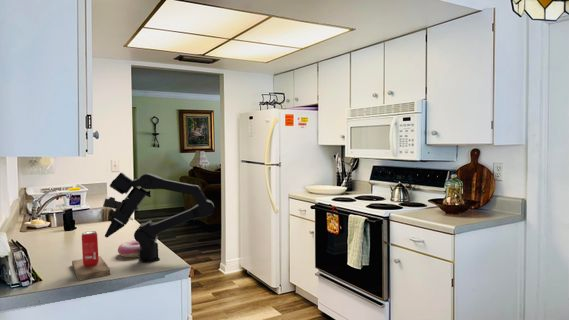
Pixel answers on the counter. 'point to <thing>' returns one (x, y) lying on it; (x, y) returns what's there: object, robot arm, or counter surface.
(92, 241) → the beverage can
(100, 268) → the walnut board
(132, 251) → the donut
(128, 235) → the counter surface
